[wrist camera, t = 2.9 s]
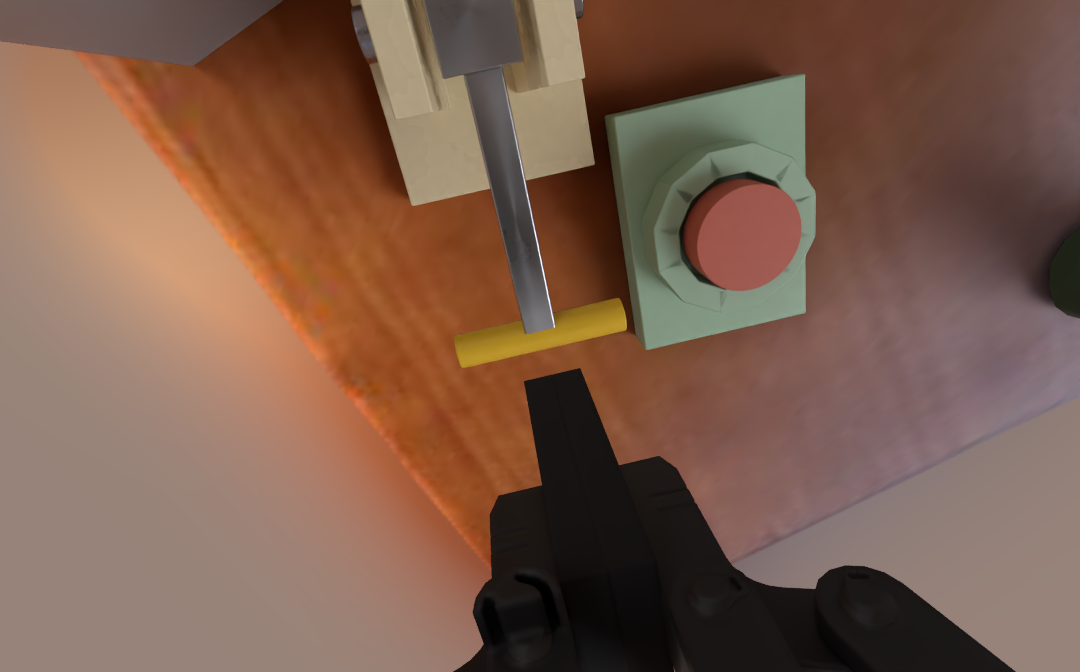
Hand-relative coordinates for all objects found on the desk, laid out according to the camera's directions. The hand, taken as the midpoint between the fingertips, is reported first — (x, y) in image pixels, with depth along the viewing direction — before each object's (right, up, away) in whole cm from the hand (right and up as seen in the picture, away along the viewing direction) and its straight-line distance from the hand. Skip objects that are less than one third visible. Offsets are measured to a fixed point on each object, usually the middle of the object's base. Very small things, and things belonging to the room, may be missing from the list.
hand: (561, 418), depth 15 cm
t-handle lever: (-2, +7, +3) cm, 8 cm away
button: (+8, +7, +11) cm, 16 cm away
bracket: (-4, +15, +10) cm, 19 cm away
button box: (+8, +9, +14) cm, 19 cm away
